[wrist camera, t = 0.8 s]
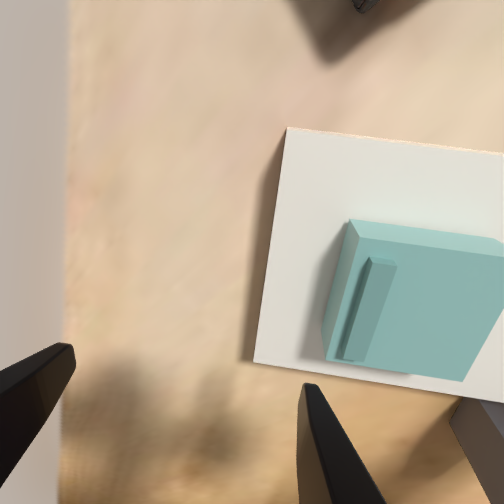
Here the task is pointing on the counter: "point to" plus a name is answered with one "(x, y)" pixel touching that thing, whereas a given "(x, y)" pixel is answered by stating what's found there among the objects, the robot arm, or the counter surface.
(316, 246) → the socket plate
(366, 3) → the electronic device
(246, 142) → the counter surface
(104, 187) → the counter surface
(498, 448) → the plug
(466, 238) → the block
